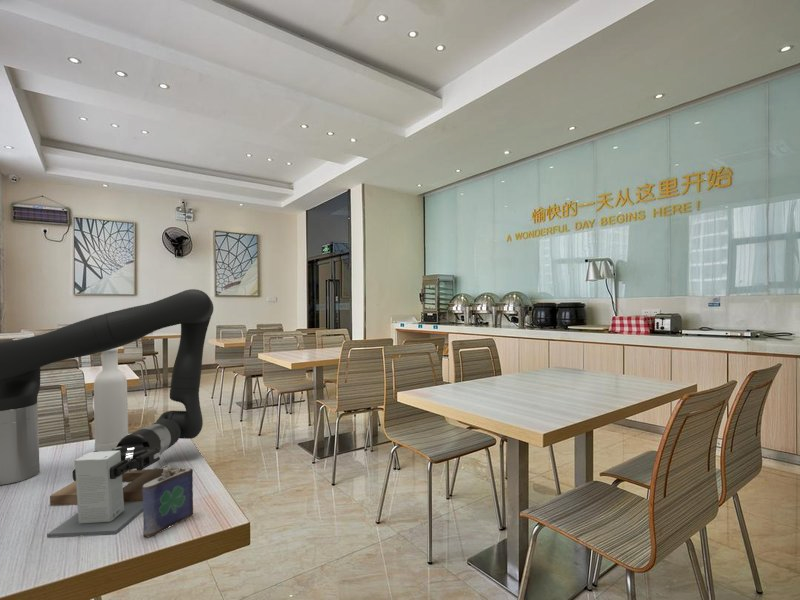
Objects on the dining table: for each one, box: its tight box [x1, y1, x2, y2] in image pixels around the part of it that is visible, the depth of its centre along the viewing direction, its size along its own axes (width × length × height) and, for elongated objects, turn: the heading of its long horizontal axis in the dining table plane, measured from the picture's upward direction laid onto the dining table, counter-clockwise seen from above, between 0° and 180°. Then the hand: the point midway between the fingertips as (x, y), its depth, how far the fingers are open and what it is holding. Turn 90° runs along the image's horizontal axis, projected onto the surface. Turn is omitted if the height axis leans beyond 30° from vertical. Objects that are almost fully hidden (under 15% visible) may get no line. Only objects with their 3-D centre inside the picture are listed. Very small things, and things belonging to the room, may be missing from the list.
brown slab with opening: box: [49, 467, 179, 506], centre depth 93 cm, size 20×12×2 cm, turn 92°
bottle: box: [93, 347, 129, 452], centre depth 118 cm, size 8×8×30 cm
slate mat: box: [46, 501, 143, 538], centre depth 80 cm, size 12×11×1 cm
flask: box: [142, 464, 194, 537], centre depth 77 cm, size 9×3×11 cm, turn 151°
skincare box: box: [74, 450, 124, 524], centre depth 79 cm, size 6×4×12 cm
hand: (93, 474), depth 78 cm, fingers closed on skincare box, 6 cm apart
